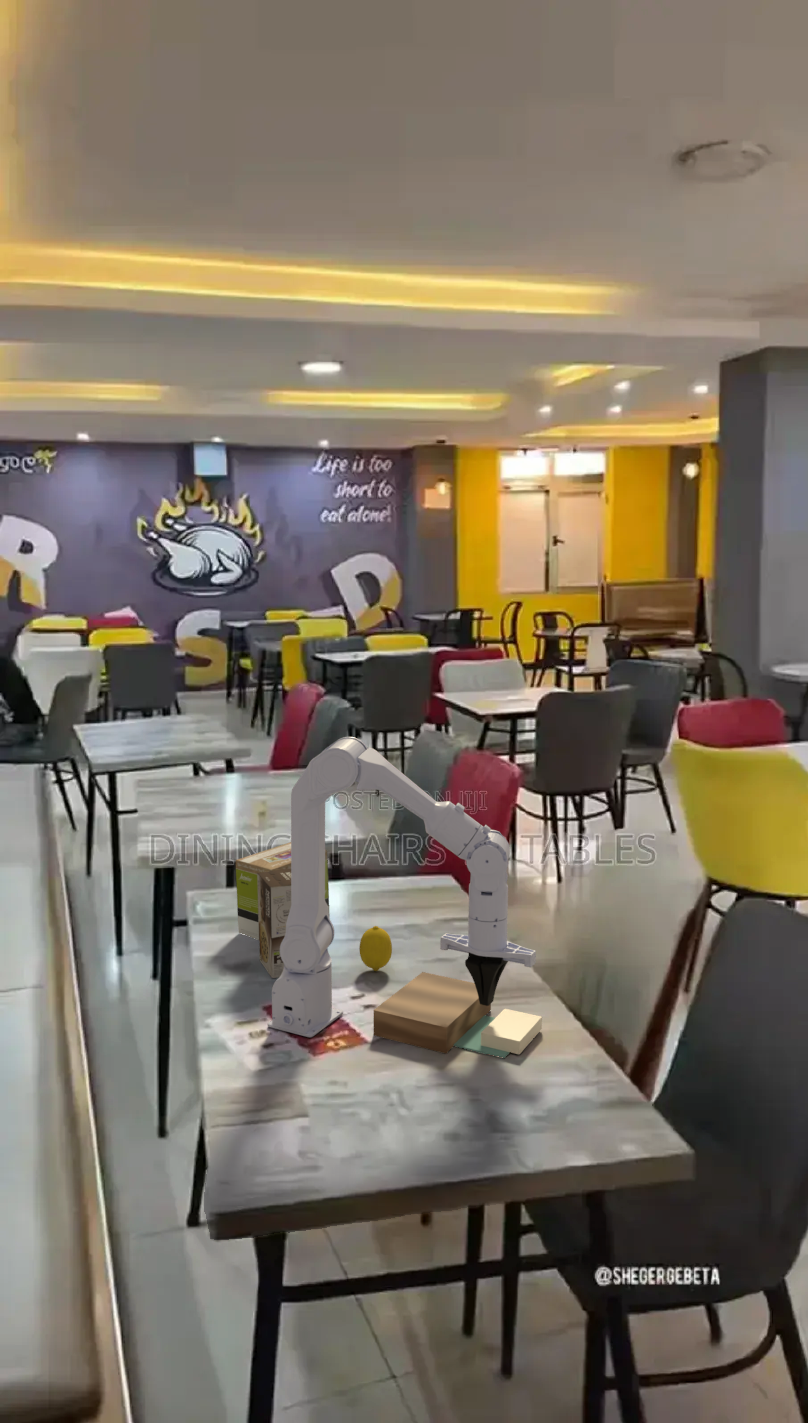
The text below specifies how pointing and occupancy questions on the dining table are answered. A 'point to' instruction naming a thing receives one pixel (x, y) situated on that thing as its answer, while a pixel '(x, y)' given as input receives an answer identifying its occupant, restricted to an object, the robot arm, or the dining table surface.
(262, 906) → the coffee box
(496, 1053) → the mat
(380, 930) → the lemon
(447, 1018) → the brown wooden flat block
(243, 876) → the tea box
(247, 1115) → the dining table surface
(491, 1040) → the cream rectangular block
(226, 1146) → the dining table surface
